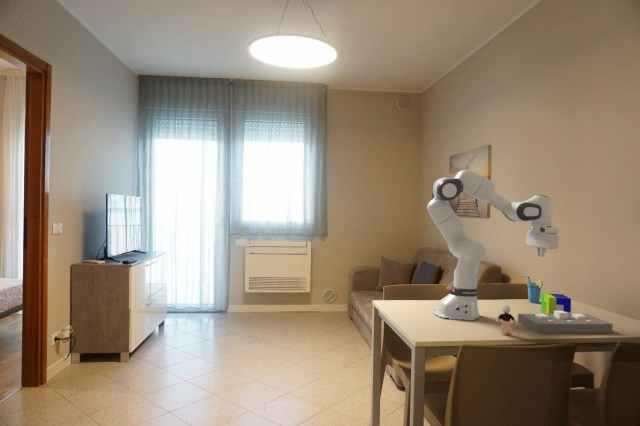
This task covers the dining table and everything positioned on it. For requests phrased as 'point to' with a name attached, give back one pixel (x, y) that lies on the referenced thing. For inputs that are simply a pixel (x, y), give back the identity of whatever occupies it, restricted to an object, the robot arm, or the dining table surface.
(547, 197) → the robot arm
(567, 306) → the puzzle toy
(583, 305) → the dining table surface
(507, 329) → the grandmother figurine
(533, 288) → the cup
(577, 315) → the button
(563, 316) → the button middle
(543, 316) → the button
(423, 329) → the dining table surface
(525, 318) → the button board
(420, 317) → the dining table surface
